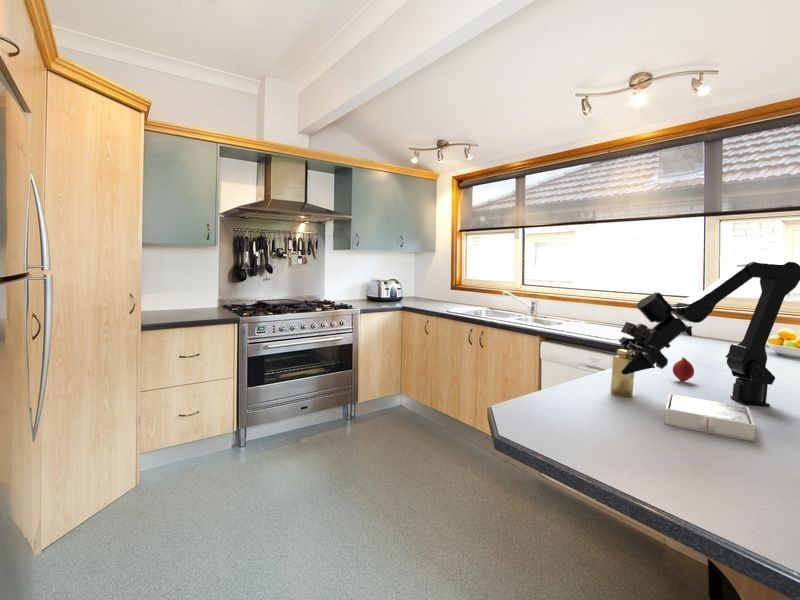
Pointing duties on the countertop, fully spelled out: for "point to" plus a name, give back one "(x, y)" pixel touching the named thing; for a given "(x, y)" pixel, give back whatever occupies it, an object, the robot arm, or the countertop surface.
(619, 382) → the weight
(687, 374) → the onion
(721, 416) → the silver square plate
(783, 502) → the countertop surface
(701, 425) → the scale
